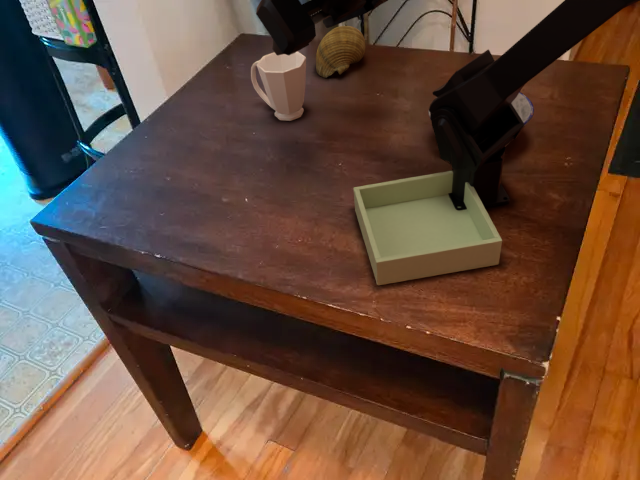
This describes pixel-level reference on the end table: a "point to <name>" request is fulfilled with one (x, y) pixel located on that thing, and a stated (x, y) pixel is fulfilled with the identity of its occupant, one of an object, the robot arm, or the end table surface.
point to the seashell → (339, 50)
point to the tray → (424, 228)
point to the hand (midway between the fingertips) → (301, 37)
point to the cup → (282, 83)
